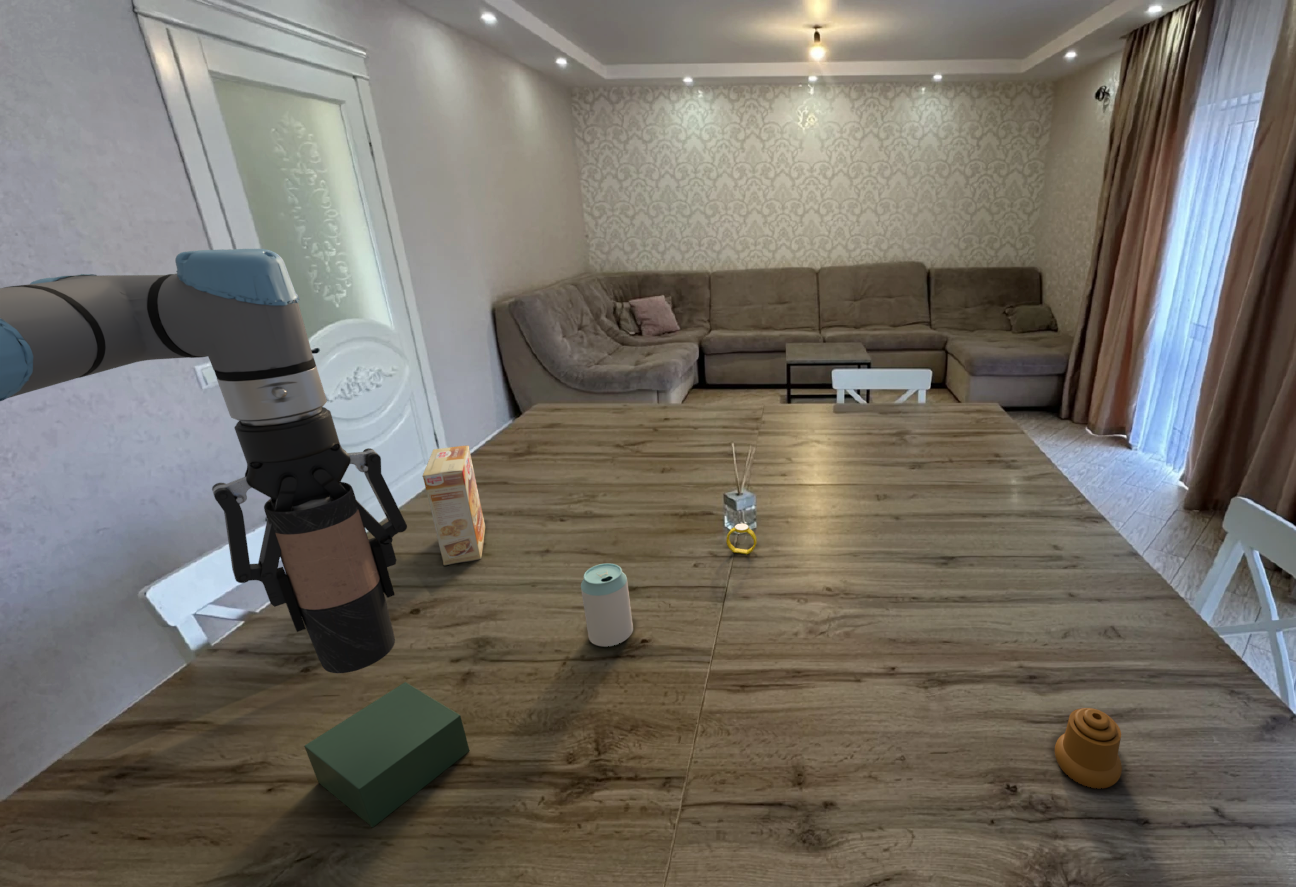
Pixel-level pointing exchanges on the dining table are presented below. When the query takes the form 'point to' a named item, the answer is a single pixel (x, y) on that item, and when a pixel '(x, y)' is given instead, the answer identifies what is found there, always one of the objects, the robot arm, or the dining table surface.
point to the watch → (741, 529)
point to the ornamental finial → (1090, 749)
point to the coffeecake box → (455, 504)
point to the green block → (387, 752)
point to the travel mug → (335, 581)
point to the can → (606, 605)
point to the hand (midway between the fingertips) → (345, 607)
